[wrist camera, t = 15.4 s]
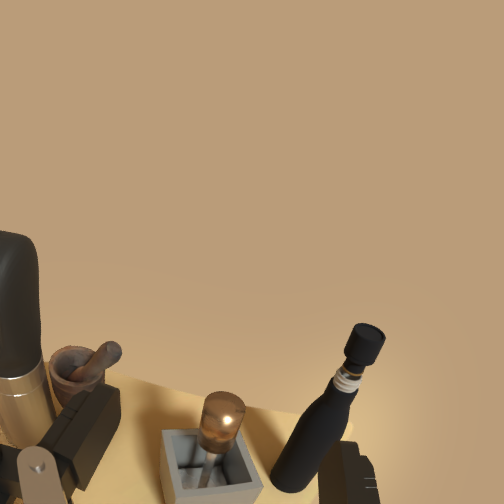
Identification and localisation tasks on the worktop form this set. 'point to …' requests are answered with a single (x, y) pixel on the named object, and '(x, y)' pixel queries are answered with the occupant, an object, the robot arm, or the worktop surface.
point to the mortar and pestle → (80, 369)
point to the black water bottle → (326, 414)
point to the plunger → (215, 438)
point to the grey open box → (192, 456)
